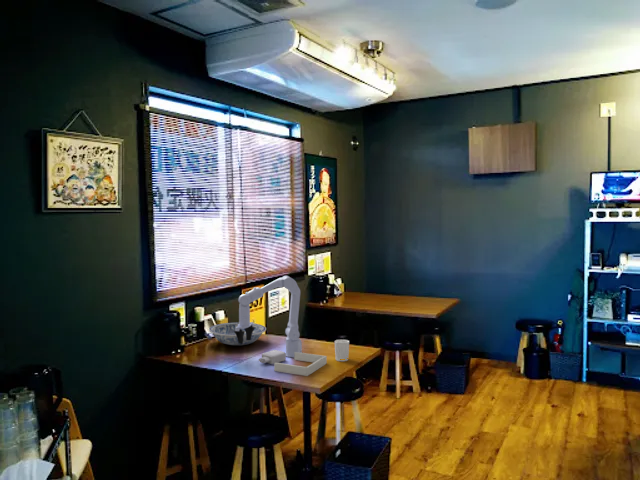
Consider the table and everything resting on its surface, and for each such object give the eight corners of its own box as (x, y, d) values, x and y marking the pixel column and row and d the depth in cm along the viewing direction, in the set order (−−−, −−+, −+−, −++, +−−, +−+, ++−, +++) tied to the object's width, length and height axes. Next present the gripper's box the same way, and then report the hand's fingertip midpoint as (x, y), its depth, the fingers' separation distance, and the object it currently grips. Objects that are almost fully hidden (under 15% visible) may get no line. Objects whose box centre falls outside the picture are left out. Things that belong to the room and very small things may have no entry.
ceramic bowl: (262, 351, 277) (262, 334, 276) (202, 351, 277) (202, 334, 277) (269, 337, 311) (269, 321, 311) (216, 336, 312) (216, 321, 311)
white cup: (348, 357, 265) (348, 339, 264) (349, 361, 257) (349, 343, 256) (334, 357, 264) (334, 339, 264) (335, 362, 257) (335, 343, 256)
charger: (253, 364, 253) (273, 357, 265) (265, 367, 248) (285, 361, 259) (253, 355, 253) (273, 349, 265) (265, 358, 247) (285, 352, 259)
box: (295, 359, 261) (295, 352, 261) (326, 363, 254) (326, 356, 253) (274, 370, 242) (274, 363, 241) (307, 376, 234) (307, 367, 234)
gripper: (245, 313, 269) (246, 338, 270) (230, 318, 256) (230, 344, 257) (256, 314, 266) (256, 339, 267) (241, 319, 253) (241, 345, 254)
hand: (244, 341), depth 262 cm, fingers open, 7 cm apart
